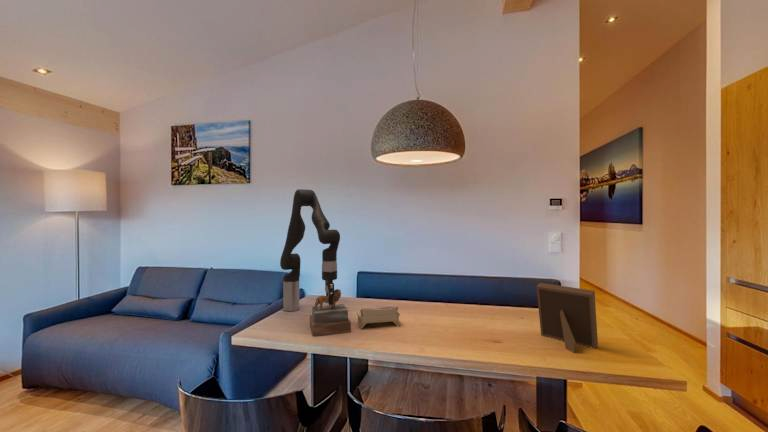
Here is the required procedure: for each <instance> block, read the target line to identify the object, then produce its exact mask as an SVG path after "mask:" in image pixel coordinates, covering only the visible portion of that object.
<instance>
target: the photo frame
mask: <svg viewBox="0 0 768 432" xmlns="http://www.w3.org/2000/svg"><path fill="white" fill-rule="evenodd" d="M595 292H596V291H595V290H592V289H587V288H586V289H585V288H577V287H571V286H564V285H557V284H552V283H543V282H539V283H538V284H537V285H536V295H537V306H538V307H537V308H538V315H539V316H538V317H539V323H540V324H539V326H540V327H539V328H540V335H541V336H542V337H545V338H549V337H550V339H553V338H554V339H553V340H557V339H558V340H557V341H561V340H562V341H561V342H564V347H565V349H566V350H567V349H568V350H567V351H569V350H570V351H569V352H571V351H572V352H571V353H573V352H575V351H576V345H577V344H579V345H578V346H580V345H583V346H582V347H584V346H587V347H586V348H588V347H592V348H596V349H597V347H598V345H599V342H598V341H599V340H598V337H599V336H598V326H597V325H598V324H597V309H596V294H595ZM592 348H591V349H592Z"/></svg>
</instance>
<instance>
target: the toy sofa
mask: <svg viewBox="0 0 768 432" xmlns="http://www.w3.org/2000/svg"><path fill="white" fill-rule="evenodd" d="M398 310H399V307H398V306H388V307H379V308H361V309H360V311H359V310H358V311H356V315H357V325H358V327H359V329H360V330H363V328H364V327H365V326H366V325H367V324H375V323H387V322H393V324H395V326H396V327H399V324H400V323H399V317H400V316H401V314H400V313H399V311H398Z"/></svg>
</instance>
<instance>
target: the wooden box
mask: <svg viewBox="0 0 768 432" xmlns="http://www.w3.org/2000/svg"><path fill="white" fill-rule="evenodd" d="M314 307H315V306H311V315H309V328H310V331H311V335H312V337H313V336H314V337H321V336H330V335H338V334H348V333H351V332H352V322H351V320H350V318H349V311H348V309H347V307H346V305H345V304H344V303H343V304H342V303H341V304H335V307H336V309H334V308H333V307H331V305H329V304H326V305H322V308H323V309H324V310H321V308H320V305H317V307H318V309H314V310H313V308H314Z"/></svg>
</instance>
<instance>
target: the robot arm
mask: <svg viewBox="0 0 768 432" xmlns="http://www.w3.org/2000/svg"><path fill="white" fill-rule="evenodd" d="M302 207H310V208H312V214H311V221H312V224H313V225H314V227H315V229H316V233H317V237H318V241H319V242H320V243H321V244H323V245H329V246H328V247H327V248H324V249H322V251H321V252H322V253H321V254H322V261H321V262H322V264H321V280H322V281H324V290H325V296H328V297H329V303H328V305H333V297H334V290H335V283H334V281H336V280H337V279H338V263H337V261H338V258H337V256H338V255H337V254H338V253H337V252H338V248H339V245H340V241H341V234H340V232H339V230H338V229H330V226H331V224H330V221H328V219H327V217H326V216H325V214H324V213H323V210H322V207H321V205H320V202H319V200H318V196H317V195H316V193H315V191H314V190H312V189H296V191H294V194H293V201H292V207H291V208H292V209H291V215H290V220H289V221H290V222H289V225H288V229H287V233H286V240H285V244H284V246H283V250H282V253H281V256H280V263H279V266H280V268H281V269H282V270H283V271H287V270H291V271H289V273H286V274H285V275H284V276H283V281H282V283H283V285H282V286H283V287H282V289H283V290H282V291H283V293H282V295H283V299H282V300H283V304H282V305H283V311H284V312H295V311H298V310H300V277H301V257H300V255H299V253H296V252H295V253H293V251H294V250H295V248H296V247H297V246H298V245H299V244H300V243H301V241H302V240H303V239H304V236H305V230H306V224H305V221H304V220H303V217H302V215H301V213H302V212H301V211H302ZM331 293H332V294H331Z"/></svg>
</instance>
